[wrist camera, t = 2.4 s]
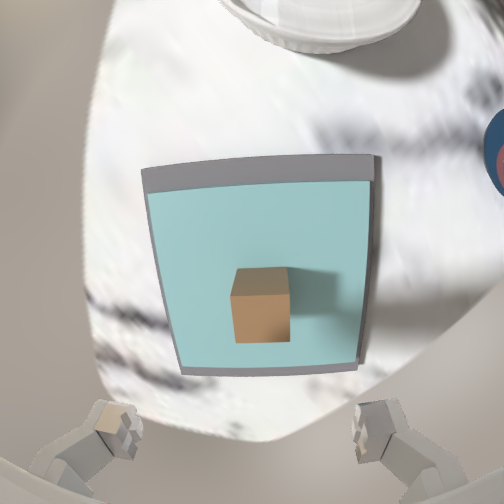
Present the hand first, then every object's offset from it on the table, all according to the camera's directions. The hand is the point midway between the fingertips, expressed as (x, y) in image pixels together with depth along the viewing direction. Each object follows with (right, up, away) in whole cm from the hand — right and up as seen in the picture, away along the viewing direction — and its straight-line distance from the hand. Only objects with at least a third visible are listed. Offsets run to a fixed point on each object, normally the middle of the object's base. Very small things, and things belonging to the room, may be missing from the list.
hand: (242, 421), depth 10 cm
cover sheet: (+1, +4, +10) cm, 11 cm away
